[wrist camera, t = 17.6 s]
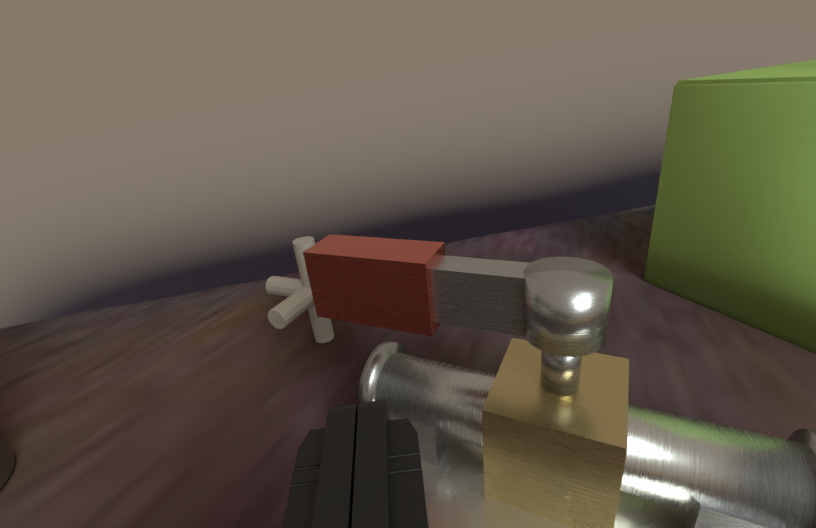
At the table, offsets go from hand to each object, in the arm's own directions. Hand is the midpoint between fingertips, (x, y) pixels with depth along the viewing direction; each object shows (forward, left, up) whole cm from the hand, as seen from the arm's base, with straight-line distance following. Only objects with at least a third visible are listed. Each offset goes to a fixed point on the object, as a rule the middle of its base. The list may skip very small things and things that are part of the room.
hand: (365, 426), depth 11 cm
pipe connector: (-18, +18, -14) cm, 29 cm away
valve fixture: (+4, +10, -14) cm, 18 cm away
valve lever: (-2, +10, -4) cm, 11 cm away
